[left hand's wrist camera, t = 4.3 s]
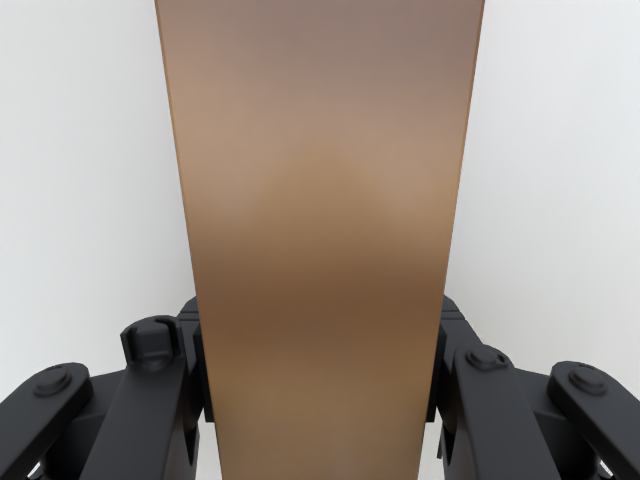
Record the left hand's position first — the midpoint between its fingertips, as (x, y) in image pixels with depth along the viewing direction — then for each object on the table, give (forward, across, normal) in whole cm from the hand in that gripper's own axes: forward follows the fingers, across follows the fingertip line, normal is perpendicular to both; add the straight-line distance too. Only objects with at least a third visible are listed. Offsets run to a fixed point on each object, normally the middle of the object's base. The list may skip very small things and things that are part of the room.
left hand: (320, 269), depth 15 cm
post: (+1, 0, -26) cm, 26 cm away
